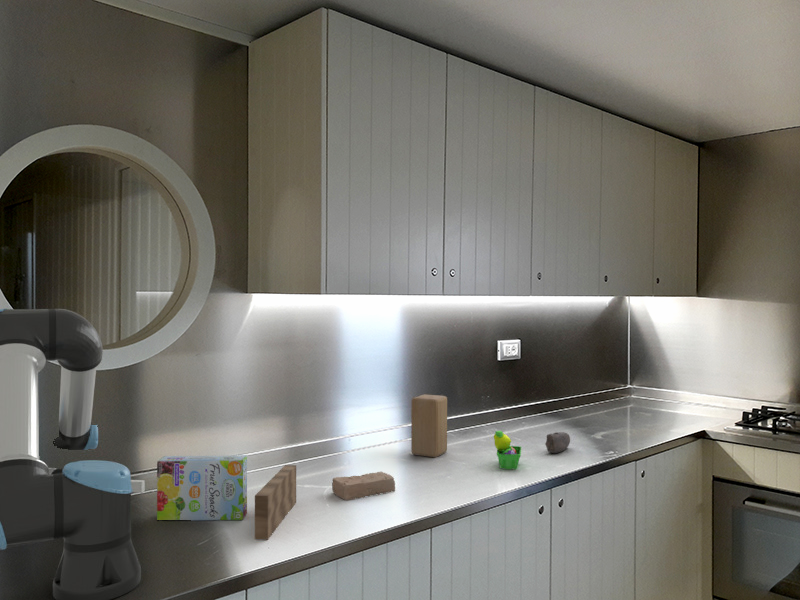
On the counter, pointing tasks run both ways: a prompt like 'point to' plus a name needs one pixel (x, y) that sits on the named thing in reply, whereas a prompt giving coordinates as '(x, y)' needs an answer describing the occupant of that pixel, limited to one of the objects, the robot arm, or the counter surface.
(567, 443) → the perforated stone tool
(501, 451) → the fruit basket
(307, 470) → the counter surface
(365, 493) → the brick
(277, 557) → the counter surface
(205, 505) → the snack box
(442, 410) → the block
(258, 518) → the walnut board
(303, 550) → the counter surface
